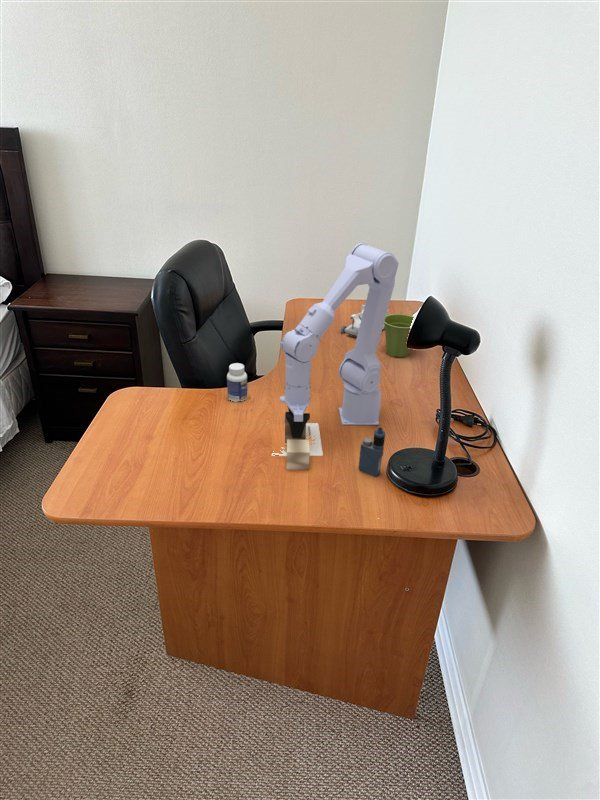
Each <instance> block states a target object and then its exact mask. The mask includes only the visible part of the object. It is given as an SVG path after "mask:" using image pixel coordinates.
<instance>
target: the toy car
mask: <svg viewBox="0 0 600 800" xmlns="http://www.w3.org/2000/svg"><path fill="white" fill-rule="evenodd" d="M364 307H365V304H361V309H360V310H361V311H360V312H359V313H356V314H355V313H353V314H352V315H350V320H352V323H351V324H350V325H348V326H347V325H342V327H341V328H340V334H342V335H344V334H349V335H353V336H356V337H357V335H358V331H359V327H360V323H361V319H362V315H363V311H364ZM387 315H389V309H388V310H387V314H386V316H387ZM383 330H385V328H384V325H383V329H382V331H383Z"/></svg>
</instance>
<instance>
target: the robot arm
mask: <svg viewBox="0 0 600 800" xmlns="http://www.w3.org/2000/svg"><path fill="white" fill-rule="evenodd" d="M344 265H345V267H344V269H343V270H342V272H341V273H340V274H339V276H338V277H337V279H336V281H335V282H334V284H333V285H332V287H330V290H329V291H328V292H327V294H326V296H325V297H324V299H323V300H322V301H321V302H317V303H314V304H313V305H312V306H311V307H310V308H308V310H307V311H308V312H306V314H305V315H304V316H303V318H302V319H301V321H300V322H299V323H298V324H297V326H296V327H295V328H294V329H292V330H290V331H287V332H286V333H285V334H284V335H283V337H282V341H280V342H279V343H280V349H281V350H282V351H283V353H284V359H285V375H284V376H285V377H284V381H285V382H284V384H285V385H284V395H281V396H279V402H280V403H284V404H285V405H286V406H287V410H288V411H285V413H284V416H285V415H286V419H287V421H288V423H289V425H290V429H291V435H292V438H301V437H302V434H303V431H304V427H305V425H306V423H309V422H308V421H310V419H311V413H309V412H308V413H307V412H305V411H306V410H307V408H308V406H309V404H310V402H311V395H310V393H311V391H310V390H311V371H312V369H311V367H312V359H313V358H314V357H315V356H316V355H317V352H318V347H319V345H320V343H321V338H322V337H323V335H324V334H325V333H326V332H327V330H328V329H329V328H330V326H331V325H332V324H333V322H334V321H335V319H336V317H335V311H337V309H338V308H339V307H340V306H341V305H342V303H344V301H345V300H346V299H347V298H349V296H350V295H351V294H352V292H353V291H354V290H355V289H356V288H357V287H358V286H361V285H368V287H369V288H368V293H367V296H366V300H365V304H364V305H365V307H364V311H363V315H362V319H361V323H360V327H359V331H358V335H357V336H356V338H355V344H354V348H353V349H351V350H349V351H346V353H345V355H344V359H343V360H342V361H341V363H340V366H339V368H338V375H339V378H341V380H342V384H343V394H342V396H343V397H342V406H341V407H338V411H339V417H340V422H341V425H342V426H371V425H372V426H377V425H379V424H380V421H379V420H380V411H381V403H382V392H381V389H380V384H381V383H380V382H381V379H382V377H381V370H382V364H381V362H380V360H379V358H378V355H377V351H378V347H379V343H380V339H381V335H382V332H383V330H384V329H383V325H384V321H385V318H386V314H387V310H389V307H390V306H389V305H390V303H391V298H392V295H393V291H394V287H395V281H396V274H397V271H398V268H399V261H398V259H397V258H396V257H395V254H393V253H392V252H390V251H385V250H382V249H379V248H376V247H374V246H371V245H368V244H366V243H364V242H360V243H357V244H356V245H355V246H353V248H352V249H351V251H350V253H349V254H348V255H347V256H346V257H345V263H344ZM382 329H383V330H382Z"/></svg>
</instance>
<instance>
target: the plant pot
mask: <svg viewBox="0 0 600 800" xmlns="http://www.w3.org/2000/svg"><path fill="white" fill-rule="evenodd" d="M414 317H415V316H412V315H409V314H403V313H392V314H390V313H389V314H388V315H387V316H386V318H385V321H384V330H385V349H386V354H387V355H389V356H391V357H398V358H405V357H408V356H409V355H410V351H411V349H408V348H407V347H406V342H407V337H408V334H409V330H410V326H411V323H412V320H413V318H414Z"/></svg>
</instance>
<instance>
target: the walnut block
mask: <svg viewBox="0 0 600 800" xmlns="http://www.w3.org/2000/svg"><path fill="white" fill-rule="evenodd" d="M284 423H285V443H287V439H294V440H306V425H305V427H304V431H303V434H302V437H301V438H292V435H291V429H290V425H289V423H288V421H287V419H286V415H285V414H284Z"/></svg>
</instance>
